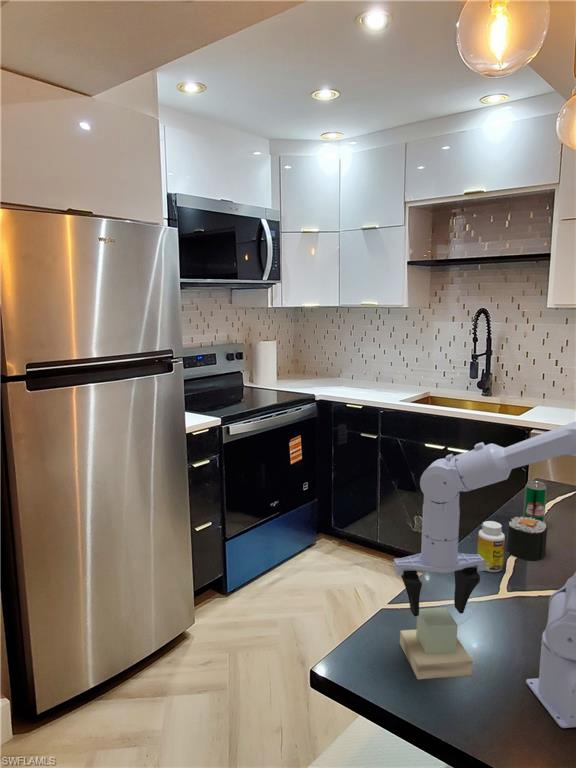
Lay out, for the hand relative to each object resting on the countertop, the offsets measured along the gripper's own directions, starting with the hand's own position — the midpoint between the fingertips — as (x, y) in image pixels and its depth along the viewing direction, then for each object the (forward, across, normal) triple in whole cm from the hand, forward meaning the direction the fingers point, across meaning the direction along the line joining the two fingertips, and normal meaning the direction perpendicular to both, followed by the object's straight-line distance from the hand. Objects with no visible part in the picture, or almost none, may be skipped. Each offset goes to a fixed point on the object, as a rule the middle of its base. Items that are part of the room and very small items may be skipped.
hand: (436, 611), depth 89 cm
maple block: (+9, 0, 0) cm, 9 cm away
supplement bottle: (+9, -24, -29) cm, 39 cm away
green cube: (+6, 0, 0) cm, 6 cm away
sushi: (+9, -36, -35) cm, 51 cm away
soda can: (+9, -46, -49) cm, 68 cm away
